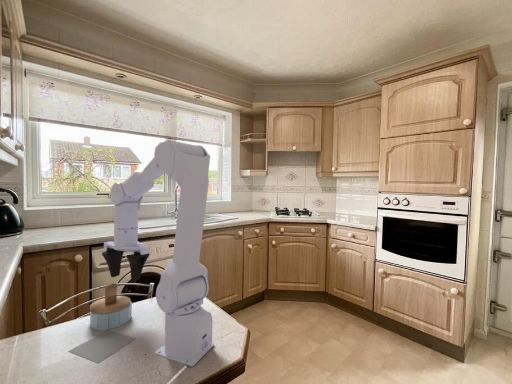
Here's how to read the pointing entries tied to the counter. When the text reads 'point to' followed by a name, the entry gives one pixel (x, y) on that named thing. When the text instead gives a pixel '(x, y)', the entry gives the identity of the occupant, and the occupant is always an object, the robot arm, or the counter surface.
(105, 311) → the lid
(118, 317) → the bowl
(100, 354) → the mat
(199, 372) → the counter surface
